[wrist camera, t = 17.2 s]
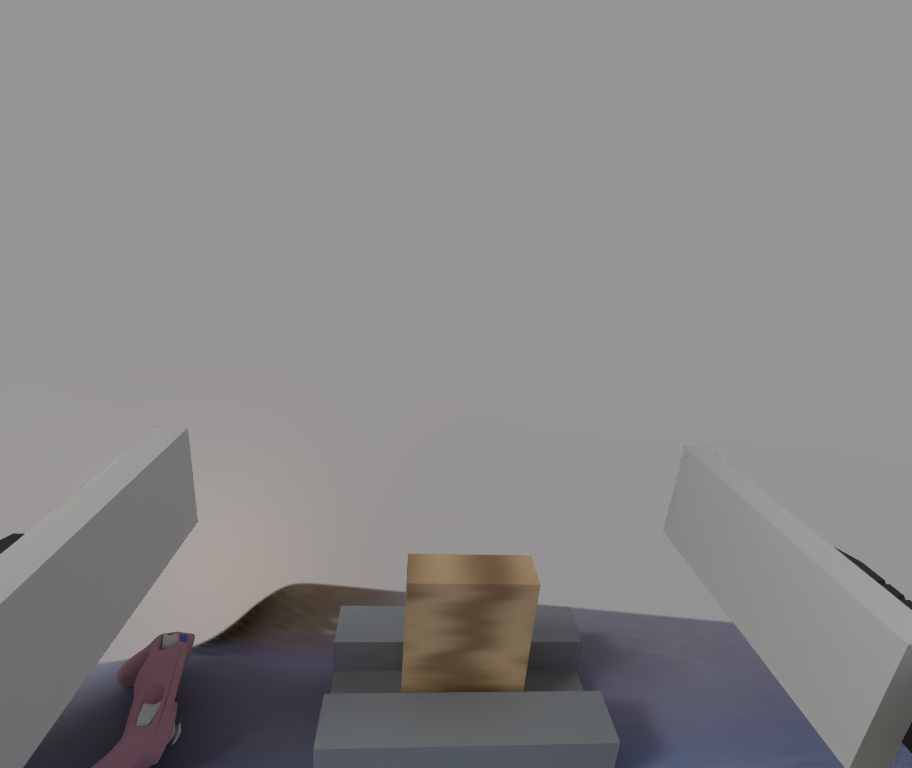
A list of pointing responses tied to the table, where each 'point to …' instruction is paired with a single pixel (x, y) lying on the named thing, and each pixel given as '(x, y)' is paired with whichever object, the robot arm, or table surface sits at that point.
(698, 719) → the table surface
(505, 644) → the oak plank
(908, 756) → the table surface
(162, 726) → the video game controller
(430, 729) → the grooved sill
